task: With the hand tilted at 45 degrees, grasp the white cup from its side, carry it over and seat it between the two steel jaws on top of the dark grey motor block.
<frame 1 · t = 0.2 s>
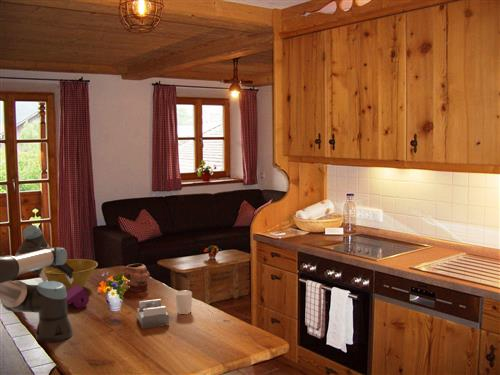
hand: (58, 281, 262), 16 cm above the table, tool tilted 35°, fingers open, 13 cm apart
planter bowl: (69, 289, 303), on the table
purple elongated rounded piece: (67, 308, 271), on the table
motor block: (152, 321, 249), on the table
white cup: (184, 313, 261), on the table
decorative planter: (135, 289, 301), on the table
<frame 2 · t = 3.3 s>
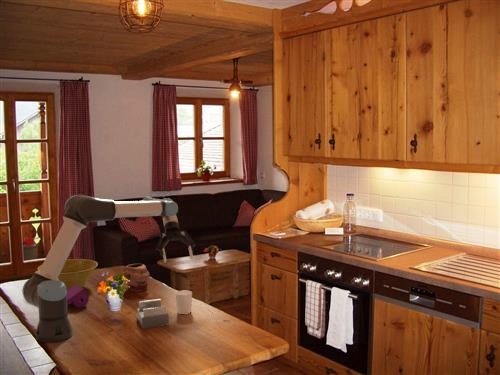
hand: (178, 259, 269), 24 cm above the table, tool tilted 45°, fingers open, 13 cm apart
nothing on the table moved.
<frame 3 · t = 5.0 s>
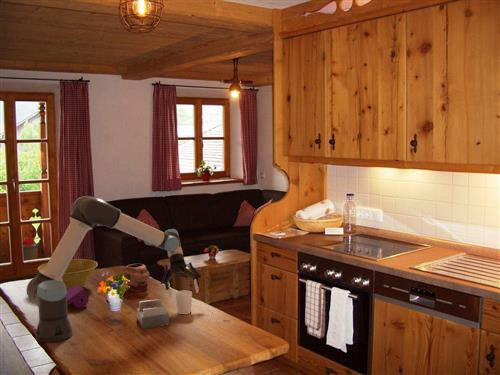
hand: (184, 293, 264), 8 cm above the table, tool tilted 45°, fingers open, 13 cm apart
nothing on the table moved.
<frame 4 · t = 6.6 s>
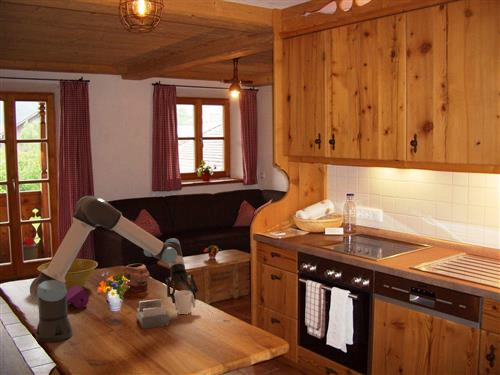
hand: (185, 307, 258), 4 cm above the table, tool tilted 45°, fingers closed on white cup, 8 cm apart
white cup: (184, 313, 261), on the table, touching gripper
everything else where it was.
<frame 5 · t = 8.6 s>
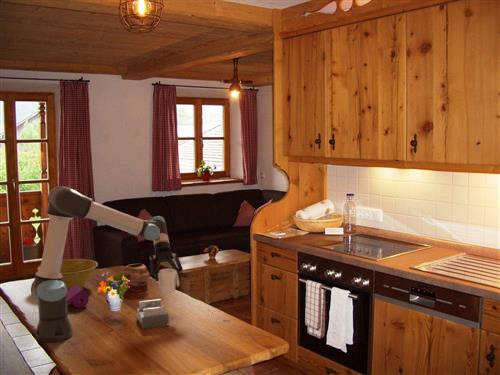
hand: (169, 285, 250), 16 cm above the table, tool tilted 45°, fingers closed on white cup, 8 cm apart
white cup: (167, 291, 253), point 13 cm above the table, touching gripper
everything else where it was.
when the fingers open (10 cm above the table, at t = 10.8 s): white cup stays where it is, resting on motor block.
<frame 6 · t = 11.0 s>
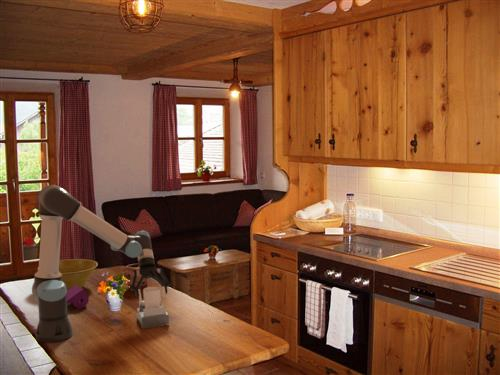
hand: (153, 301, 245), 11 cm above the table, tool tilted 45°, fingers open, 10 cm apart
white cup: (152, 310, 249), point 5 cm above the table, touching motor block
everything else where it was.
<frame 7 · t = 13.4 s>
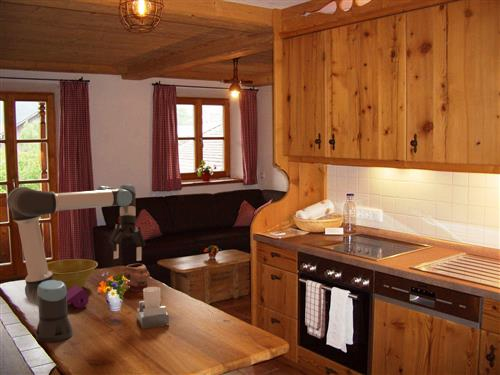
hand: (127, 259, 256), 27 cm above the table, tool tilted 25°, fingers open, 13 cm apart
nothing on the table moved.
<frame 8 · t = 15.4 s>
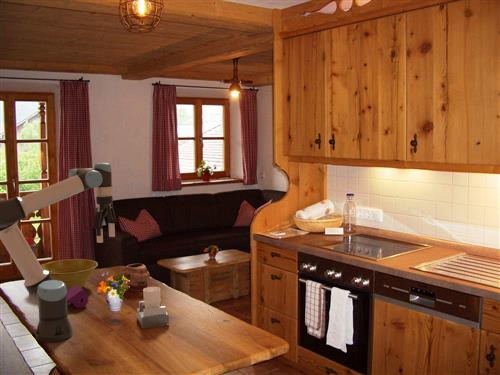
hand: (106, 239, 257), 37 cm above the table, tool pointing down, fingers open, 13 cm apart
nothing on the table moved.
at the end: white cup inside the target area on the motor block (0.0 cm from its centre), point 5.4 cm above the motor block's base; white cup tilted 0°; the gripper is holding nothing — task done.
